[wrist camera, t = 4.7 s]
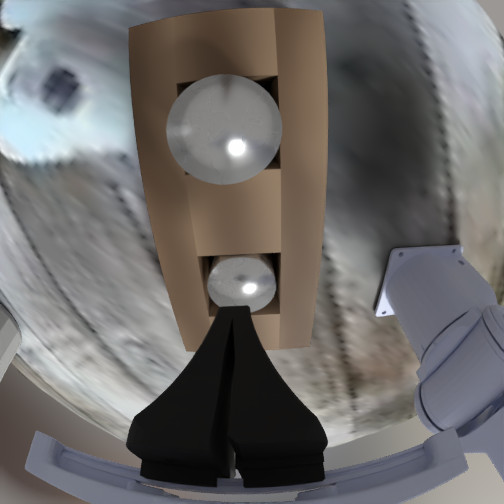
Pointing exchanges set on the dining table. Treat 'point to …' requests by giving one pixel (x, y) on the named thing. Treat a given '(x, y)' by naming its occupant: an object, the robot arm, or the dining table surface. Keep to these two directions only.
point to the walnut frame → (249, 191)
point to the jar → (8, 339)
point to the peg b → (242, 280)
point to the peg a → (224, 129)
